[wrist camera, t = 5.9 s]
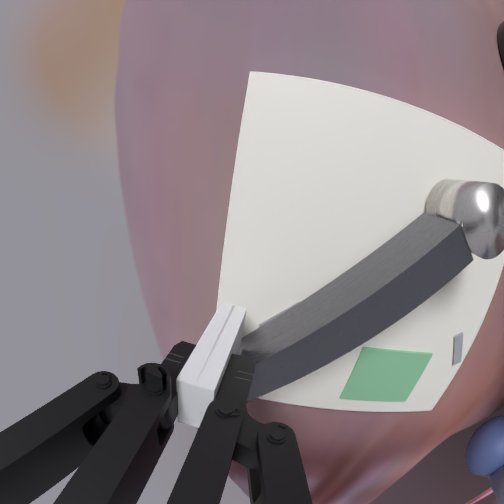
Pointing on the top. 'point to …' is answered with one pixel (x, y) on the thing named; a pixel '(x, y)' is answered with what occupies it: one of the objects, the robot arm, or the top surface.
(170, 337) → the top surface
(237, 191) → the dial board
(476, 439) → the seal
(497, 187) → the ball-tipped lever
